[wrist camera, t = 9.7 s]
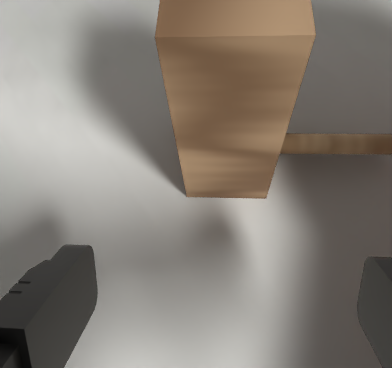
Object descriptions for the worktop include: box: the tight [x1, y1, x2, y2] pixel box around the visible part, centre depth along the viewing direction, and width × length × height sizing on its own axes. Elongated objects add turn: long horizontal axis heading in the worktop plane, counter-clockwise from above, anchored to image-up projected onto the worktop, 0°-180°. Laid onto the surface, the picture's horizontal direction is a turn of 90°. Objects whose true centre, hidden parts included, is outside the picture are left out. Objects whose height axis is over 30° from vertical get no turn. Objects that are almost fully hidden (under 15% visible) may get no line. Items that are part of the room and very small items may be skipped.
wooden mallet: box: [155, 0, 392, 198], centre depth 14 cm, size 10×5×10 cm, turn 87°
